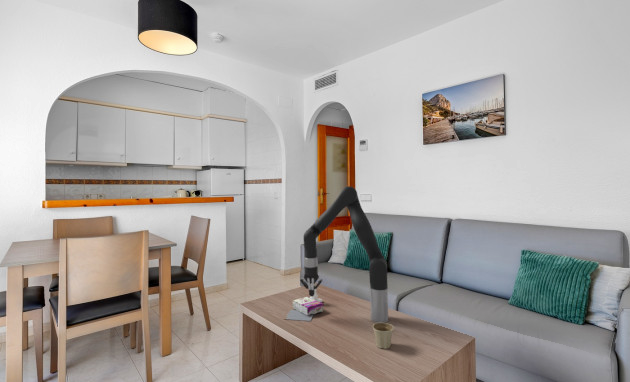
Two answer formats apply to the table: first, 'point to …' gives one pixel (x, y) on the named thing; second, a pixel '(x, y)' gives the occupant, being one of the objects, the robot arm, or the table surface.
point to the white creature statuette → (315, 296)
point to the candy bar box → (307, 306)
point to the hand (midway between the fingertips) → (311, 295)
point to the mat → (298, 316)
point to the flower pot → (383, 334)
